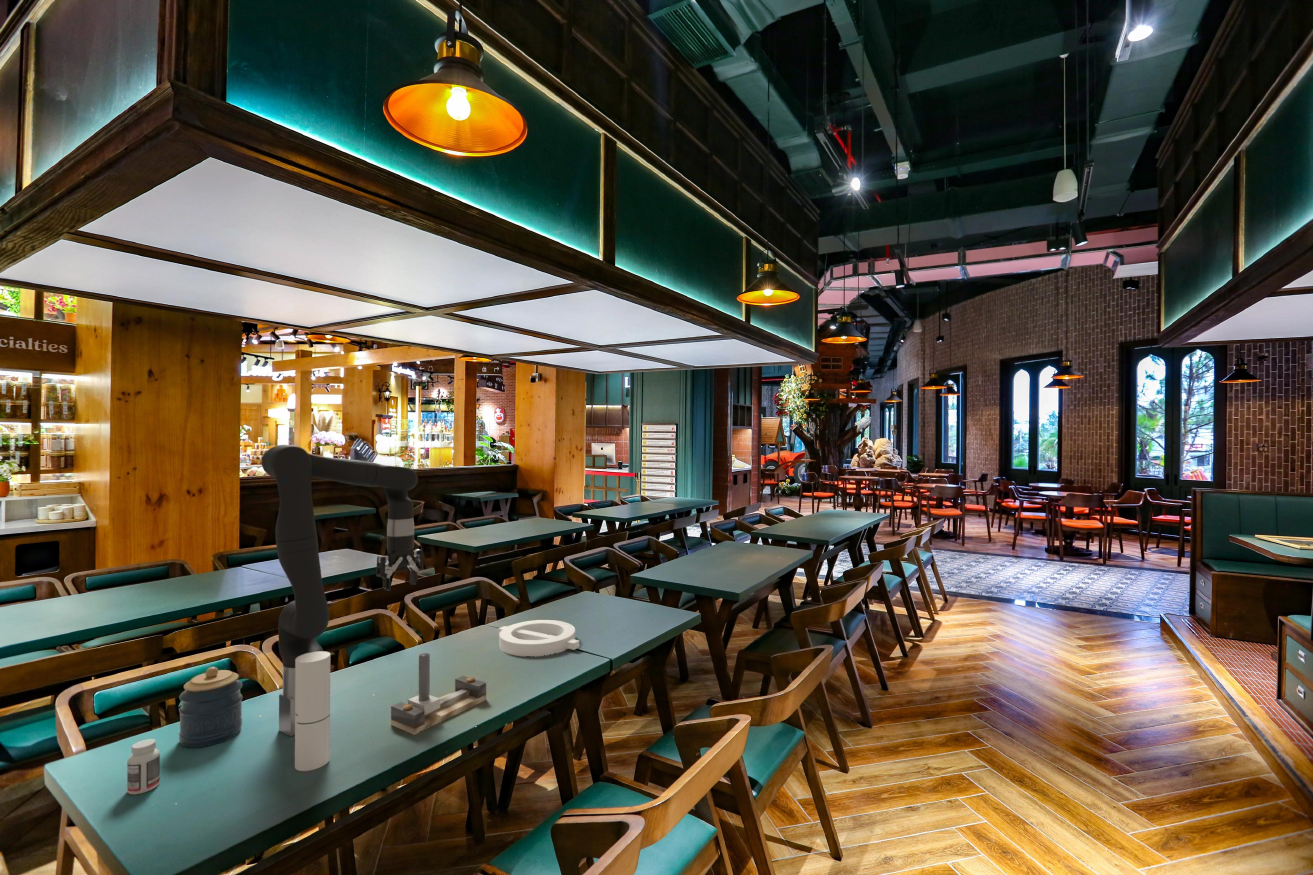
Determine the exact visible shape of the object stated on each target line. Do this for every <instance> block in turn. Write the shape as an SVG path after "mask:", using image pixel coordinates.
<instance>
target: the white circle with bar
mask: <svg viewBox="0 0 1313 875" xmlns="http://www.w3.org/2000/svg"><path fill="white" fill-rule="evenodd" d="M548 634H549V635H548ZM498 636H499V638H498V640H499V649H500V650H501V651H502V652H503V653H505V654H508V655H511V656H516V657H526V656H531V657H532V656H534V657H544V655H545V656H551V655H555V654H554V653H556V654H559V653H562V652H564V651H567V650H572V651H575V650H577V649H578V648H580V640H578V639H576V628H575V627H574V626H573V625H572V624H571V623H568V622H565V621H561V620H555V619H554V620H552V619H535V620H527V621H521V622H518V623H517V622H516V623H514V624H513V623H512V624H511V625H507V626H506V625H504V626H501V627H499V628H498ZM566 649H567V650H566ZM550 654H551V655H550ZM532 658H533V657H532Z"/></svg>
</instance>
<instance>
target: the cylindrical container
mask: <svg viewBox="0 0 1313 875" xmlns="http://www.w3.org/2000/svg"><path fill="white" fill-rule="evenodd" d="M330 743H331V653H330V651H324V650H323V651H318V652H311V653H306V654H303V655H301V656H299V657H297V658H296V659H295V735H294V769H295V770H296V771H299V772H308V771H314V770H317V769H319V768H321V767H324V766H326V765H327V764H328V763H329V762H330V760H331V744H330Z"/></svg>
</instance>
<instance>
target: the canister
mask: <svg viewBox="0 0 1313 875" xmlns="http://www.w3.org/2000/svg"><path fill="white" fill-rule="evenodd" d="M239 677H240V675H239V673H236V672H234V671H231V670H227V669H220V670H219V669H218V668H217V667H215V666H210V667H208V668H207V669H206V671H205V672H203V673H201V674H198V675H195V676H193V677H192V678H191V679H190V680H189V681H187V682H186V683H185V684H184V685H183V689H184V691H182V692H181V693H180V695H179V700H180V701H181V706H180V707H179V709H178V711H179V733H178V736H179V737H178V739H179V743H180V745H181V746H182V747H185V748H191V749H192V748H204V747H208V746H213V745H217V744H220V743H222V742H225V741H228V740H229V739H232V738H233V737H235V736H236V735H237V734H239V733H240V731H241V729H242V726H243V717H242V709H243V708H242V703H243V701H242V700H243V694H242V693H241V689H242V687H243V682H242V681H240V680H239Z"/></svg>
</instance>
